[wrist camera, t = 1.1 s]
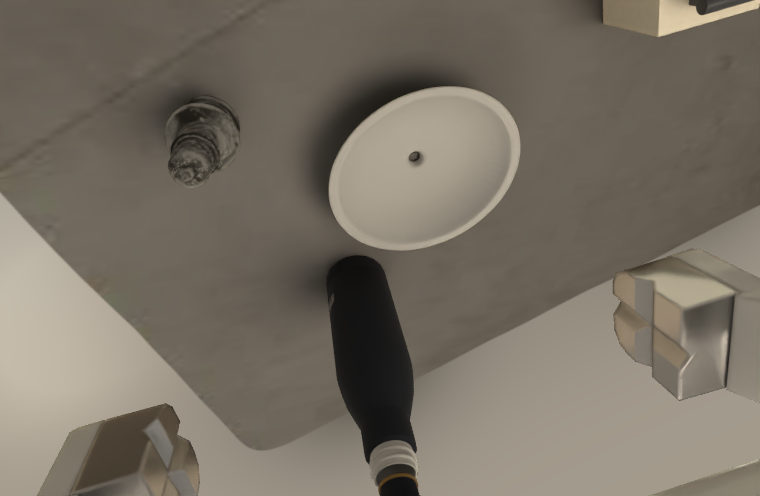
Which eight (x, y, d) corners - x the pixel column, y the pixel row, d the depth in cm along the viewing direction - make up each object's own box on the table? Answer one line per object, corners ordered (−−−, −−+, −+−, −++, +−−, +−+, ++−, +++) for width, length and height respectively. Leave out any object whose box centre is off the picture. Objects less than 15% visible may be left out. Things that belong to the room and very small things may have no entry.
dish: (365, 252, 54) (372, 278, 50) (294, 135, 47) (295, 153, 42) (520, 174, 52) (540, 194, 48) (471, 39, 45) (490, 48, 41)
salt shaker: (222, 170, 47) (203, 231, 37) (160, 134, 45) (122, 189, 35) (255, 118, 45) (246, 167, 35) (193, 78, 43) (163, 118, 33)
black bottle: (392, 293, 57) (477, 574, 31) (338, 312, 57) (378, 607, 32) (375, 246, 54) (453, 518, 28) (317, 267, 54) (343, 556, 28)
